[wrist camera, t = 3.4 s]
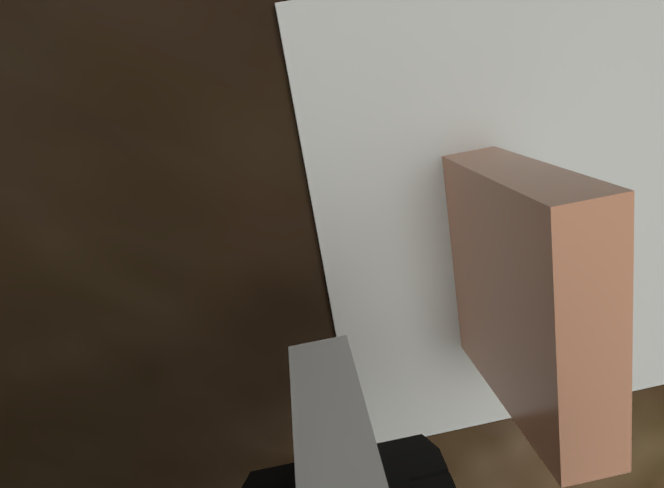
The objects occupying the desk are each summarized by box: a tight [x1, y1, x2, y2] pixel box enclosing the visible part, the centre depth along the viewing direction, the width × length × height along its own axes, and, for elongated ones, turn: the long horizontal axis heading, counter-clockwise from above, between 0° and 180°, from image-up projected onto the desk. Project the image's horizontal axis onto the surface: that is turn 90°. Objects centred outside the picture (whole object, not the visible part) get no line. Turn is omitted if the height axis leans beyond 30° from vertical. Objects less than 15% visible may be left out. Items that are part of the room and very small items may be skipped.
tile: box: [442, 146, 635, 488], centre depth 17 cm, size 2×8×8 cm, turn 10°
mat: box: [275, 0, 664, 443], centre depth 21 cm, size 20×18×1 cm
